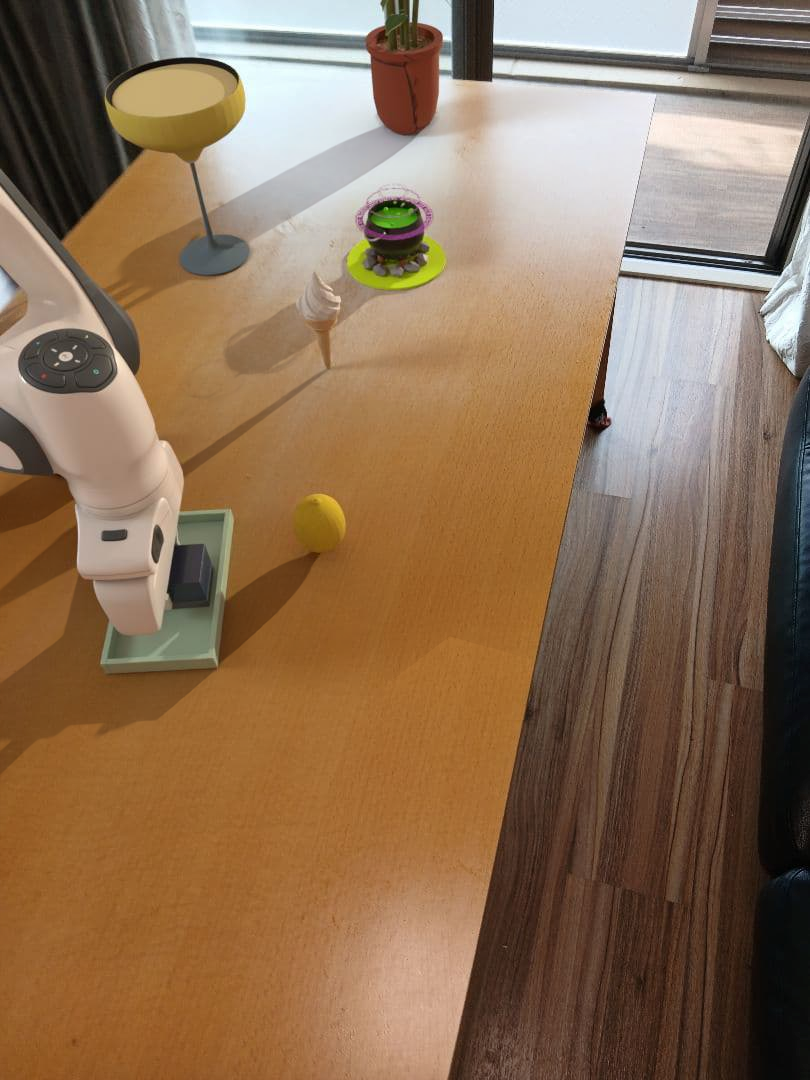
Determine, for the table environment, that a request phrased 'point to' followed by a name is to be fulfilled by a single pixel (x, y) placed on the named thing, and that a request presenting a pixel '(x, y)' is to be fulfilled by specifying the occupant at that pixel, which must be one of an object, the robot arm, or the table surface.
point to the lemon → (319, 523)
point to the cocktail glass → (183, 132)
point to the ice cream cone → (320, 312)
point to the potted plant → (404, 68)
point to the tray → (181, 610)
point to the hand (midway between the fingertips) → (169, 579)
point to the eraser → (190, 576)
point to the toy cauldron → (395, 246)
